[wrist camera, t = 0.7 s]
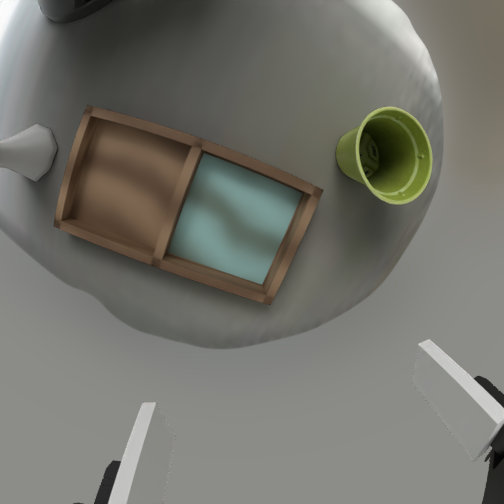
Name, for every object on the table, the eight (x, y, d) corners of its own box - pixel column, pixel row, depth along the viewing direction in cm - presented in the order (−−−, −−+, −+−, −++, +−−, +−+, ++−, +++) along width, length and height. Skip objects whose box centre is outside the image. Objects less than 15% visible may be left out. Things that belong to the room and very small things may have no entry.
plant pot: (337, 204, 31) (374, 219, 23) (309, 129, 28) (341, 118, 20) (395, 179, 31) (440, 187, 23) (373, 110, 28) (416, 99, 20)
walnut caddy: (98, 109, 24) (87, 105, 22) (314, 187, 30) (323, 189, 27) (65, 220, 28) (53, 226, 25) (266, 293, 34) (270, 305, 31)
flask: (37, 191, 26) (-12, 204, 17) (12, 158, 24) (-36, 163, 14) (66, 146, 25) (16, 144, 16) (39, 114, 23) (-10, 106, 13)
